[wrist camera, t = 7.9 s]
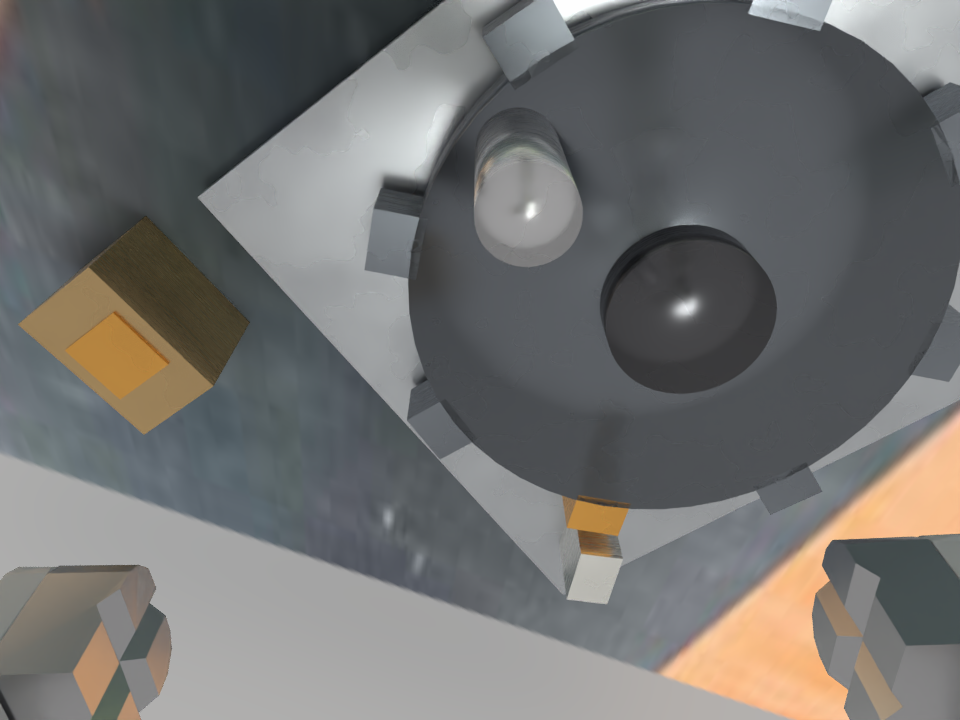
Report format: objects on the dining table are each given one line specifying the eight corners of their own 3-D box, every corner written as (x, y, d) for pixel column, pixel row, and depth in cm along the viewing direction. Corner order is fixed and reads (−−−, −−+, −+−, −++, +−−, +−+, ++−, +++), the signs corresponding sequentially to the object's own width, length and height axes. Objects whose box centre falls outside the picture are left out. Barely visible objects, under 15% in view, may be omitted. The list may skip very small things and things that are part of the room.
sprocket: (340, 456, 29) (301, 608, 23) (429, -137, 20) (406, -164, 13) (815, 534, 32) (903, 694, 25) (1101, 31, 22) (1363, 78, 16)
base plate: (206, 188, 26) (164, 230, 22) (832, -310, 19) (910, -360, 16) (560, 577, 35) (570, 651, 31) (1066, 325, 28) (1148, 382, 25)
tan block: (84, 266, 27) (16, 326, 23) (146, 215, 26) (86, 268, 22) (188, 365, 29) (142, 436, 25) (250, 321, 28) (212, 387, 24)
